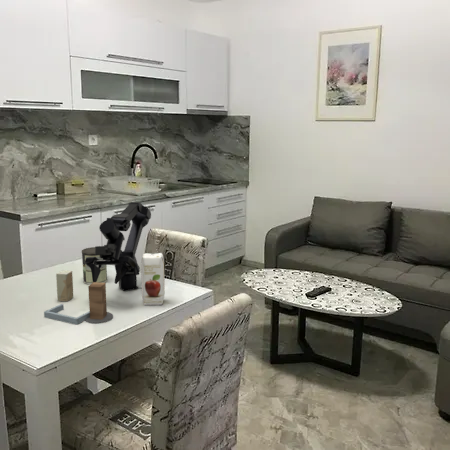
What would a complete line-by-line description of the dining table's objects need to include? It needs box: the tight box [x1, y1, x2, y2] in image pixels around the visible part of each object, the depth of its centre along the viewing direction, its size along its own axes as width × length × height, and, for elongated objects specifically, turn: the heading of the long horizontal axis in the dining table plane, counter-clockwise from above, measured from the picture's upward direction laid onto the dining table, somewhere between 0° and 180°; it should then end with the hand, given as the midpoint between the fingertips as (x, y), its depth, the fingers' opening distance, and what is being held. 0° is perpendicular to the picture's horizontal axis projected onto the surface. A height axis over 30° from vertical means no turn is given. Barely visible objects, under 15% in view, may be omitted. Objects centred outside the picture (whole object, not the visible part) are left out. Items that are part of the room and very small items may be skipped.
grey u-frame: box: [43, 303, 90, 325], centre depth 173 cm, size 8×15×2 cm, turn 65°
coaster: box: [84, 311, 114, 324], centre depth 172 cm, size 10×10×1 cm
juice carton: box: [140, 252, 166, 306], centre depth 186 cm, size 8×9×19 cm
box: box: [55, 269, 74, 302], centre depth 189 cm, size 5×4×11 cm
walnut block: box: [87, 282, 108, 320], centre depth 171 cm, size 4×4×12 cm
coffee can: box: [81, 246, 108, 286], centre depth 211 cm, size 10×10×14 cm
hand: (104, 283), depth 179 cm, fingers open, 9 cm apart
